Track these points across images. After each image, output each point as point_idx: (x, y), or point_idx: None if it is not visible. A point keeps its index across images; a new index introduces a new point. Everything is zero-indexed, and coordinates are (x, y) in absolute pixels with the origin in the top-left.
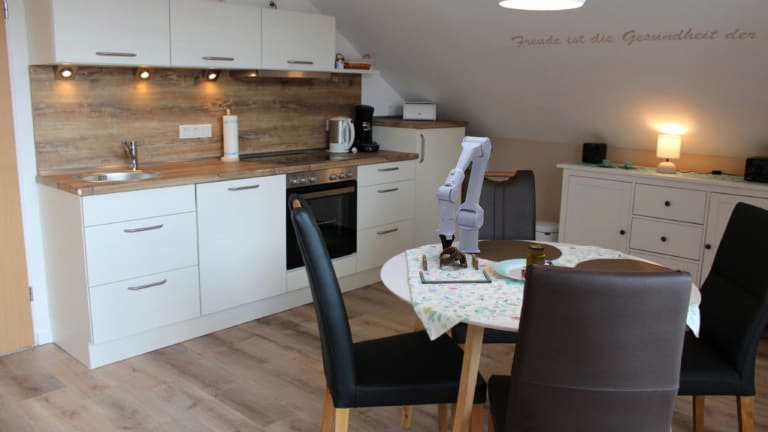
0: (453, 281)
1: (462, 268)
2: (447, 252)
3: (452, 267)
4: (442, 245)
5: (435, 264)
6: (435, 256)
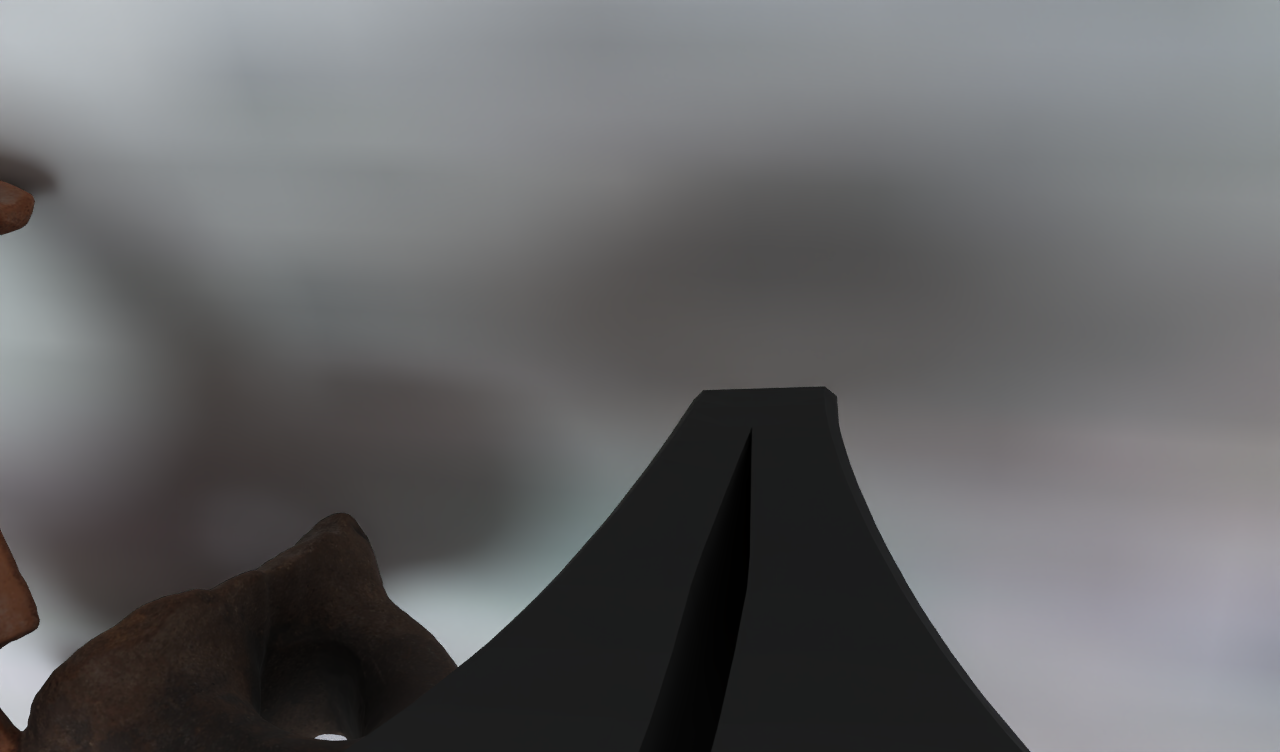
0: None
1: None
2: (2, 601)
3: (12, 443)
4: (592, 592)
5: (101, 10)
6: (1169, 10)
